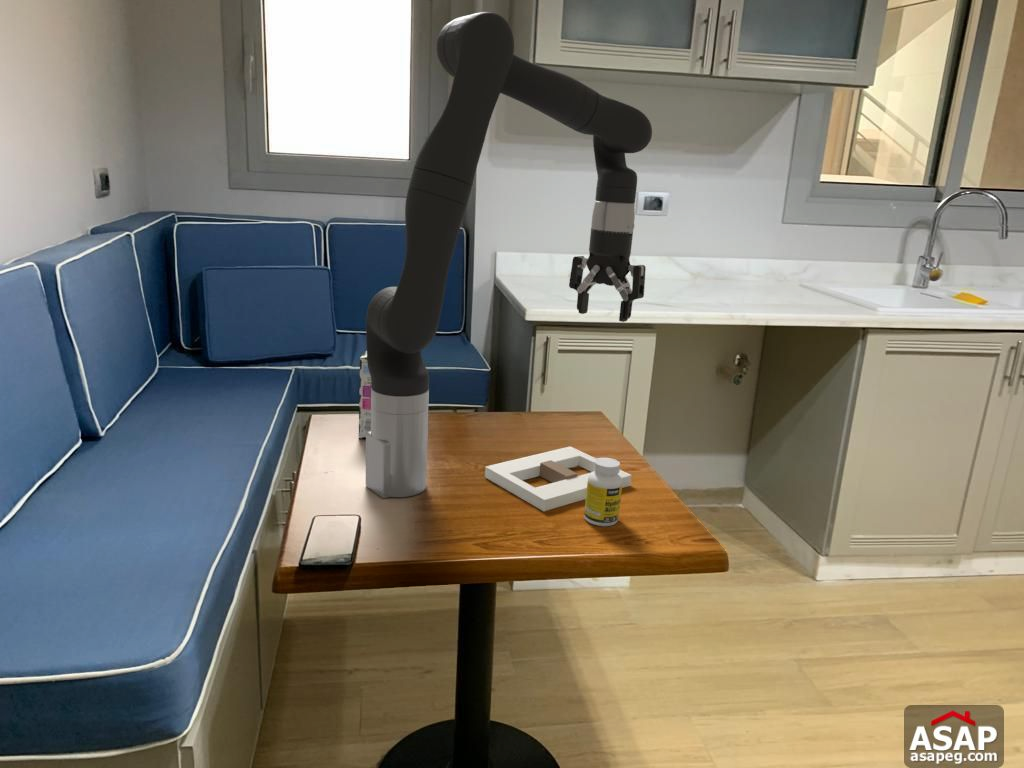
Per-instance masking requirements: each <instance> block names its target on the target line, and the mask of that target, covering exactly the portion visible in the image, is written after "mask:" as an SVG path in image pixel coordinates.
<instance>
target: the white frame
mask: <svg viewBox="0 0 1024 768" xmlns="http://www.w3.org/2000/svg"><path fill="white" fill-rule="evenodd" d="M596 459H597V458H596V457H594V456H592V455H589V454H587V453H585V452H583V451H581V450H579V449H577V448H575V447H572V446H571V445H570V446H566V447H561V448H557V449H553V450H549V451H544V452H542V453H541V452H540V453H536V454H532V455H528V456H525V457H520V458H516V459H510V460H506V461H502V462H499V463H495V464H490V465H486V466H485V467H484V468H485V469H484V478H485V479H488V480H489V481H490V482H492V483H494V484H496V485H498V486H499V487H501V488H503V489H505V490H506V491H508V492H510V493H511V494H514V495H515V496H516V497H518V498H519V499H522V500H524V501H525V502H527V503H529V504H530V505H532V506H534V507H535V508H537V509H539V510H540V511H542V512H547V511H550V510H553V509H556V508H557V509H558V508H561V507H563V506H567V505H570V504H573V503H576V502H580V501H583V500H584V501H585V500H586V492H587V482H588V476H589V474H590V473H591V472H593V471H594V461H595V460H596ZM575 467H581V468H583V469H585V470H587V471H589V473H584V474H580V475H578V473H577V472H575V471H574V470H571V468H575ZM618 474H619V475H620V476H621V478H622V480H623V483H622V489H623V488H626V487H630V486H631V484H632V474H630V473H628V472H626V471H624V470H622V469H620V471H619V473H618ZM536 477H537V478H538V477H540V478H543V479H544V480H546V481H549V482H550V483H548V484H544V485H540V486H536V487H534V486H533V485H531V484H529V483H528V482H526V480H529V479H533V478H536Z"/></svg>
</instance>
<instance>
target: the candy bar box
mask: <svg viewBox="0 0 1024 768" xmlns="http://www.w3.org/2000/svg"><path fill="white" fill-rule="evenodd" d="M358 397H359V399H358V400H359V402H358V406H359V407H358V437H359V438H366V433H367V432H369V431H371V376H370V373H369V369H368V364H367V350H366V351H365V352H364V353H363V354H362V355H361V356H360V357H359V396H358ZM359 438H358V439H359Z"/></svg>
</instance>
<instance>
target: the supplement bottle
mask: <svg viewBox="0 0 1024 768" xmlns="http://www.w3.org/2000/svg"><path fill="white" fill-rule="evenodd" d="M620 470H621V463H620V461H618V460H617V459H615V458H610V457H597V458H596V460H595V461H594V471H593V472H589V473H590V474H589V476H588V482H587V492H586V499H585V502H584V513H583V516H584V517H583V518H584V519H585V521H587V522H588V523H589V524H592V525H595V526H598V527H611V526H614V525H615V524H617V523H618V521H619V516H620V509H621V501H622V491H623V488H622V483H623V480H622V478H621V476H620V475H619V474H618V473H619V471H620Z"/></svg>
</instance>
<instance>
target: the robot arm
mask: <svg viewBox="0 0 1024 768" xmlns="http://www.w3.org/2000/svg"><path fill="white" fill-rule="evenodd" d="M514 38H515V37H514V35H513V31H512V28H511V26H510V24H509V23H508V21H507V20H506V19H505V17H503V16H502V15H500V14H499V13H496V12H491V11H481V12H476V13H472V14H468V15H463V16H459V17H456V18H455V19H453V20H451V21H449V22H448V23H446V24H445V25H444V26H443V27H442V29H441V30H440V32H439V33H438V36H437V39H436V40H437V41H436V54H437V58H438V61H439V63H440V65H441V67H442V68H443V69H444V71H446V73H448V75H450V76H451V77H452V78H453V81H452V84H451V90H450V93H449V95H448V100H447V102H446V105H445V106H444V108H443V110H442V113H441V114H440V116H439V118H438V119H437V121H436V123H435V125H434V126H433V128H432V129H431V131H430V133H429V134H428V136H427V137H426V140H425V141H424V143H423V145H422V146H421V148H420V150H419V152H418V154H417V156H416V157H417V158H416V160H415V163H414V166H413V169H412V174H411V177H410V181H409V185H408V189H407V192H406V198H405V203H404V204H405V205H404V208H405V209H404V210H405V211H404V213H405V214H404V217H405V218H404V221H405V246H406V248H405V258H404V261H403V267H402V271H401V275H400V277H399V281H398V284H397V286H389V287H385V288H383V289H381V290H379V291H378V292H377V293H376V294H375V295H374V296H372V299H371V301H370V303H369V304H368V308H367V312H366V320H365V331H366V332H365V334H366V335H365V336H366V339H365V340H366V341H365V343H366V351H367V364H368V369H369V373H370V376H371V431H369V432H367V433H366V439H365V487H367V488H368V489H370V490H371V491H372V492H374V493H375V494H377V495H378V496H379V497H381V499H387V498H408V497H413V496H416V495H418V494H421V493H422V492H424V491H425V490H426V489H427V488H426V487H427V475H428V474H427V467H428V466H427V465H428V463H427V461H428V459H427V458H428V431H429V430H428V429H429V427H428V425H429V397H430V396H429V395H430V394H429V393H430V374H429V371H428V369H427V367H426V366H425V363H424V361H423V356H422V353H421V351H423V350H424V349H425V348H426V347H428V346H429V344H431V343H432V341H433V340H434V339H435V336H436V335H437V331H438V329H439V326H440V320H441V315H442V309H443V304H444V297H445V292H446V291H445V290H446V285H447V279H448V276H449V275H448V274H449V269H450V266H451V262H452V259H453V255H454V251H455V249H456V245H457V240H458V237H459V233H460V230H461V226H462V222H463V219H464V215H465V213H466V210H467V206H468V204H469V199H470V197H471V196H470V195H471V192H472V189H473V188H472V187H473V184H474V180H475V176H476V171H477V168H478V165H479V161H480V158H481V154H482V150H483V147H484V144H485V140H486V136H487V132H488V128H489V125H490V121H491V119H492V116H493V114H494V110H495V108H496V105H497V102H498V99H499V97H500V95H501V94H502V95H503V96H504V95H505V96H507V97H509V98H512V99H514V100H515V101H518V102H520V103H522V104H524V105H526V106H528V107H530V108H533V110H537V111H538V112H540V113H542V114H544V115H546V117H547V116H548V117H549V118H551V119H553V120H555V121H556V122H559V123H560V124H562V125H564V126H566V127H567V128H569V129H571V130H574V131H575V132H577V133H579V134H583V135H589V136H592V142H593V143H592V144H593V153H594V162H595V168H596V172H597V174H596V175H597V181H596V188H595V189H596V190H595V201H594V205H593V209H592V216H591V227H590V236H589V247H588V252H589V255H588V258H587V257H585V256H583V255H580V256H574V257H573V258H572V262H571V268H570V269H571V270H570V275H569V283H568V284H569V285H568V287H569V288H570V289H573V290H575V291H576V293H577V300H576V301H577V302H576V303H577V304H576V309H577V310H576V311H578V314H581V315H584V314H587V313H588V311H589V310H588V308H589V301H590V293H588V292H589V291H590V290H591V289H592V288H593V286H594V285H607V286H610V287H613V286H614V288H615V291H617V292H618V293H619V295H620V297H621V299H622V300H621V301H620V306H619V307H620V308H619V316H618V317H619V318H618V321H619V322H621V323H622V322H623V323H624V322H627V321H628V319H630V318H631V317H632V309H633V302H634V301H635V300H639V299H643V298H644V296H645V283H646V269H647V268H646V265H644V264H636V265H635V264H631V262H630V256H631V253H632V245H633V238H634V237H633V235H634V229H635V218H636V216H635V215H636V214H635V213H636V211H635V210H636V209H635V206H636V204H635V203H636V197H637V186H638V174H637V172H636V171H635V170H634V169H632V168H630V167H628V166H627V161H626V154H635V153H636V154H637V153H638V152H641V151H643V150H644V149H646V147H647V146H648V145H649V144H650V142H651V140H652V137H653V129H652V128H653V127H652V125H651V122H650V119H649V118H648V117H647V115H645V113H643V111H641V110H640V109H638V108H636V107H634V106H633V105H632V106H631V105H630V104H627V103H624V102H621V101H619V100H616V99H613V98H610V97H607V96H605V95H602V94H601V93H599V92H598V91H596V90H594V89H593V88H591V87H590V86H588V85H586V84H585V83H583V82H581V81H579V80H577V79H576V78H573V77H571V76H569V75H568V74H565V73H562V72H560V71H557V70H553V69H551V68H547V67H544V66H543V65H542V66H541V65H539V64H536V63H533V62H531V61H529V60H526V59H525V58H522V57H520V56H518V55H516V54H514V52H515V39H514ZM586 267H587V269H588V274H587V275H586V276H585V277H584V278H583V275H584V269H585V268H586ZM629 273H630V276H631V277H632V287H631V283H630V282H629V280H628V278H627V275H628V274H629Z"/></svg>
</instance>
